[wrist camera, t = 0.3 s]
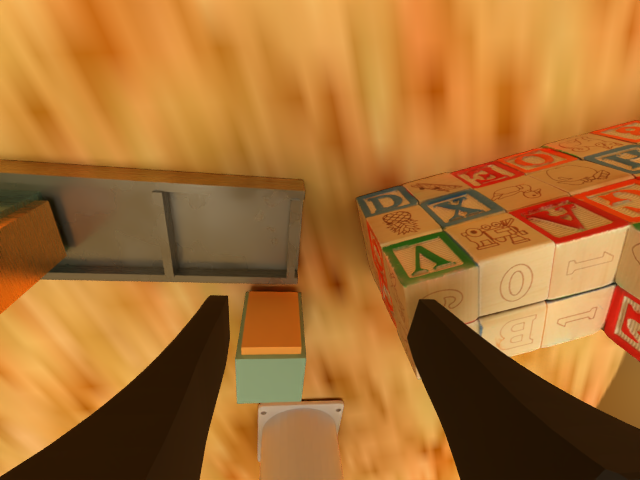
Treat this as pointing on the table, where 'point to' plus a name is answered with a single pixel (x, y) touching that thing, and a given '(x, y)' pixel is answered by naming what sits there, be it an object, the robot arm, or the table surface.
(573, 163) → the stack of blocks
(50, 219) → the rail
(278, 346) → the toy block
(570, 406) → the robot arm
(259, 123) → the table surface
